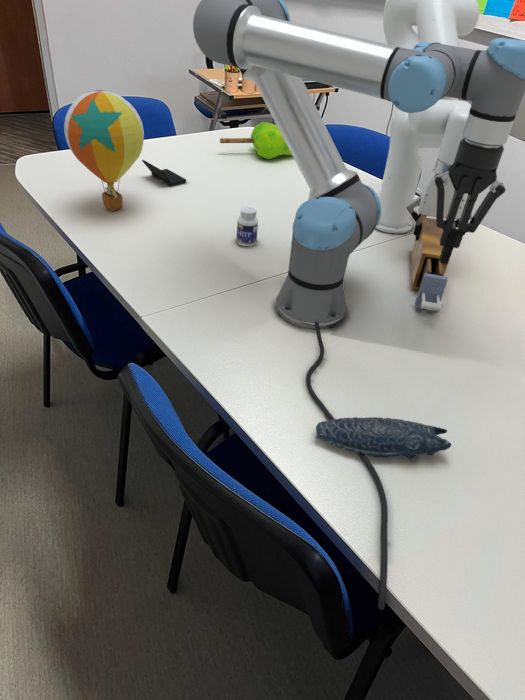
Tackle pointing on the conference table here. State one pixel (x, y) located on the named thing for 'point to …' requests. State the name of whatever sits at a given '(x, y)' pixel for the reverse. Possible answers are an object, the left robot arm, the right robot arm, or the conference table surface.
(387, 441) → the fish model
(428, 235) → the tan wooden box
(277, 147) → the decorative tree
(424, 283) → the drawer
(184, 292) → the conference table surface
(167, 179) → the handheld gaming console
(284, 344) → the conference table surface
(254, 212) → the pill bottle
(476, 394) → the conference table surface
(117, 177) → the toy
